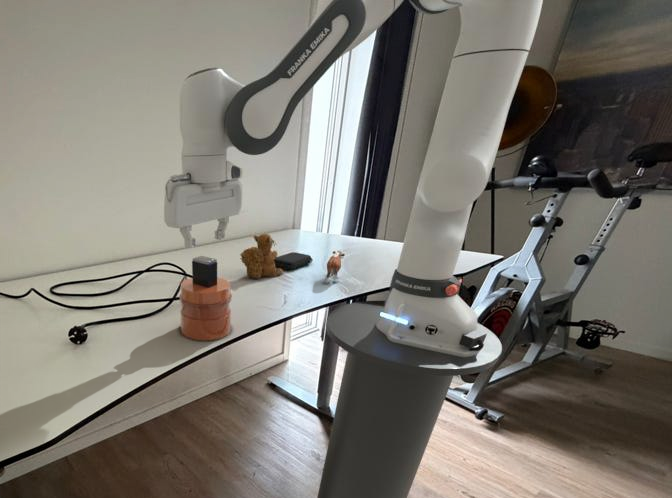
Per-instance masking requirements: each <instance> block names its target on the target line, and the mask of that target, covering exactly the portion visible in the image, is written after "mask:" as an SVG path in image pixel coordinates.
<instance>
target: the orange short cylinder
mask: <svg viewBox="0 0 672 498" xmlns="http://www.w3.org/2000/svg"><path fill="white" fill-rule="evenodd" d="M178 296H179V299H178V300H179V302H180V303H181V309H180V312H179V313H180V329H181V333H182V335H183V336H185V337H186V338H188V339H191V340H195V341H214V340H219V339H222V338H225V337H227V336H228V335H229V334H230V332H231V326H232V325H231V324H232V316H231V315H232V310H231V308H230V303H231V302H232V299H233V294H232V293H231V282H230V281H229V280H227V279H226V278H222V277H218V276H217V285H215V286H212V287H209V288H207V287H204V286H200V285H197V284H194V283H193V278H192V277H190V278H187V279H185V280H183V281H182V282H181V283H180V293H179V295H178Z"/></svg>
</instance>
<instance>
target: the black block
mask: <svg viewBox="0 0 672 498" xmlns="http://www.w3.org/2000/svg"><path fill="white" fill-rule="evenodd" d="M217 261H218V260H217V258H214V257H209V256H204V255H199V256H197V257H193V258H192V261H191V273H192V277H191V278H193V283H194V284H197V285H200V286H204V287H207V288H209V287H212V286H215V285H217V277H218V262H217Z"/></svg>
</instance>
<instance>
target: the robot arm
mask: <svg viewBox="0 0 672 498" xmlns="http://www.w3.org/2000/svg"><path fill="white" fill-rule="evenodd" d="M404 1H405V0H317V5H316V13H315V16H314V18H313V19H312V21H311V23H310V25H309V27H308V28H307V29H306V31H305V32H304V33H303V34H302V36H300V38H299V39H298V40H297V42H296V43H295V44H293V46H292V47H291V48H290V50H288V52H287V53H286V55H284V57H283V58H282V59H281V60H280V61H279V63H278V64H277V65H276V66H275V67H274V68H273V69H272V70H271V71H270V72H269V73H267V74H266V75H265V76H263V77H260V78H259V79H257V80H254V81H252V82H251V83H248V84H242V83H240V82H239V81H237V80H236V79H234V78H232V77H231V76H229V75H228V74H227V73H226V72H224V70H223V69H222V68H219V67H209V68H205V69H200V70H198V71H195V72H194V73H193V72H192V73H191V74H189V75H188V76H187V77H186V78H185V79H184V80H183V82H182V84H181V88H180V94H179V95H180V96H179V129H180V130H179V131H180V134H181V138H182V147H181V148H182V149H181V152H180V153H181V157H180V158H181V174H173V175H171V176H170V177H169V178H168V180H167V181H166V183H165V184H164V185H165V186H164V190H165V193H164V204H163V219H164V223H165V225H166V226H167V227H168V228H172V229H179V233H180V234H181V236H182V237H183V239H184V247H185V248H187V249H192V248H195V247H196V245H197V244H196V238H195V237H193V236H192V234H191V232H192V230H193V228H192V226H195V225H198V224H203V223H208V222H211V221H216V220H217V222H218V225H217V228H216V230H214V239H215V240H223V239H225V237H226V229H227V227H228V225H229V222H230V217H233V216H238V215H239V214H240V212H241V210H242V205H243V184H242V182H241V181H242V180H241V179H242V178H243V172H244V171H243V167H242V166H240V165H237V164H235V163H234V162H232V161H230V160H228V159H227V158H228V157H227V154H228V153H227V152H228V149H229V148H230V147H231V148H232V147H233V148H234V147H235V149H237V150H238V151H239V152H241V153H243V154H245V155H249V156H257V155H259V156H260V155H263V154H266V153H268V152H270V151H272V150H273V149H274V148H275V147H276V146H277V145H278V144H279V143H280V142H281V140H282V139H283V137H284V135H285V133H286V132H287V129H288V127H289V124H290V121H291V119H292V116H293V114H294V112H295V110H296V108H297V107H298V105H299V104H300V103H301V101H302V100H303V98H305V96H306V95H307V94H308V93H309V92H310V91H311V90H312V88H314V86H315V85H316V84H317V83H318V81H320V80H321V78H322V77H323V76H324V75H325V74H326V72H327V71H328V70H329V69H330V68H331V67H332V66H333V65H334V63H336V61H338V60H339V59H340V58H341V57H342V56H344V55H345V54H347V53H349V52H351V51H353V50H354V49H355V48H357V47H358V46H359V45H360V44H362V43H364V41H366V40H367V39H368V38H369V37H371V35H372V34H374V33H375V32H376V31H377V30H378V29H379V28H380V27H381V26H382V25H383V24H384V23H385V22H386V21H387V20H388V19H389V18H390V17H391V16H392V15H393V13H395V11H396V10H397V9H398V8H399V7H400V6H401V5H402V3H403V2H404ZM408 1H409V3H410V5H411V6H412V7H413V8H414V9H415V10H416V11H418V12H419V13H422V14H425V15H439V14H442V13H445V12H447V11H448V10H450V9H454V8H457V7H458V10H459V13H460V32H459V37H458V39H457V42H456V45H455V49H454V52H453V55H452V59H451V62H450V66H449V69H448V74H447V77H446V81H445V86H444V87H443V88H444V89H443V92H442V95H441V99H440V103H439V107H438V111H437V115H436V118H435V122H434V126H433V129H432V133H431V136H430V141H429V144H428V147H427V151H426V155H425V158H424V163H423V166H422V169H421V172H420V175H419V178H418V183H417V187H416V191H415V192H416V193H415V196H414V199H413V204H412V208H411V211H410V216H409V220H408V223H407V227H406V230H405V231H406V232H405V236H404V240H403V242H402V247H401V251H400V256H399V259H398V263H397V267H396V268H395V269H394V272H393V274H392V276H391V280H390V283H389V284H390V285H389V295H388V298H387V300H386V301H387V303H386V305H385V307H384V309H383V312H381V314H380V317H379V319H378V320H377V322H376V327H377V328H378V329H379V330H380V331H381V332H382V333H384V334H385V335H386V336H387V338H388V339H389V340H390V341H392V342H395V343H400V344H404V345H409V346H413V347H418V348H423V349H427V350H432V351H437V352H441V353H446V354H450V355H455V356H460V357H469V356H473V355H475V354H477V353H478V352H480V350H481V349H482V348H483V346H484V341H485V338H486V335H487V333H484V332H481V331H478V330H476V329H477V323H478V316H477V313H476V311H474V309H472V307H470V306H469V305H468V303H466V302H465V300H464V299H462V297H460V295H459V294H458V293H459V291H460V288H461V284H462V282H463V279H462V278H460V279H459V280H458V278H457V277H456V276H454V272H455V268H456V265H457V263H458V260H459V257H460V254H461V251H462V248H463V244H464V241H465V237H466V232H467V229H468V224H469V220H470V216H471V212H472V209H473V205H474V202H475V201H476V200H477V199H478V198H479V197H480V196H481V195H482V193H483V192H484V191H485V189H486V187H487V185H488V181H489V179H490V175H491V173H492V169H493V166H494V163H495V159H496V157H497V153H498V151H499V150H498V149H499V146H500V143H501V139H502V137H503V132H504V130H505V129H504V128H505V126H506V122H507V118H508V114H509V110H510V107H511V105H512V101H513V100H514V99H513V98H514V96H515V93H516V90H517V87H518V85H519V82H520V79H521V76H522V73H523V70H524V68H525V64H526V62H527V59H528V56H529V52H530V50H531V47H532V44H533V42H534V38H535V35H536V31H537V28H538V24H539V20H540V16H541V13H542V8H543V7H542V6H543V2H544V0H408Z"/></svg>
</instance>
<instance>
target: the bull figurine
mask: <svg viewBox="0 0 672 498" xmlns="http://www.w3.org/2000/svg"><path fill="white" fill-rule="evenodd" d="M344 259H345V253H344V252H343V250H340V249H338V250H337V251H335V250H333V251H332V256H330V257H329V259H328V261H327V263H326V270H327V271H326V280H325V281H324V283H325V284H328V283H329V279H330V277H333V283H338V280H337V279H338V273H339V271H340V270H341V269H342V260H344Z"/></svg>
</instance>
